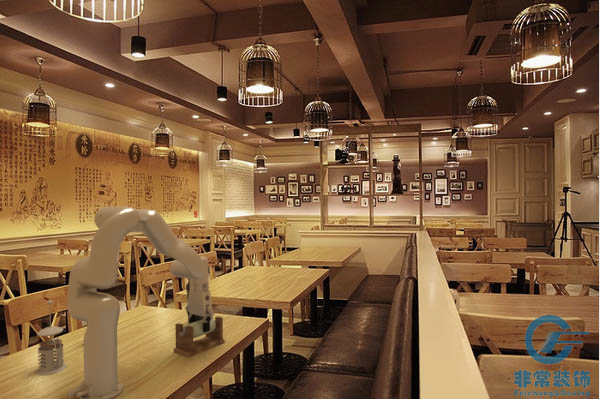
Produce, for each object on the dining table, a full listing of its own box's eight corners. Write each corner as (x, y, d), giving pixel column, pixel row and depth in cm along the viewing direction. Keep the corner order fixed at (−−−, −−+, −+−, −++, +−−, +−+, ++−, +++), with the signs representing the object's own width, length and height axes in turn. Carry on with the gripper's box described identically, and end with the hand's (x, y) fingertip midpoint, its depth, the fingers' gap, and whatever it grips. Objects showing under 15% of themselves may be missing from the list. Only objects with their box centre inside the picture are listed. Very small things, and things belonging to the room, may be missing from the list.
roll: (185, 344, 159) (185, 328, 159) (175, 340, 163) (175, 325, 163) (221, 330, 175) (221, 316, 174) (212, 327, 178) (212, 314, 178)
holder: (188, 357, 158) (188, 328, 158) (173, 352, 164) (173, 324, 164) (224, 342, 174) (224, 316, 174) (210, 338, 179) (209, 313, 179)
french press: (60, 361, 156) (59, 295, 155) (73, 369, 148) (72, 300, 148) (30, 370, 148) (29, 301, 148) (43, 379, 141) (41, 306, 140)
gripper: (220, 287, 166) (221, 331, 167) (192, 282, 177) (193, 323, 177) (206, 291, 160) (207, 336, 160) (178, 286, 171) (178, 328, 171)
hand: (199, 329), depth 169 cm, fingers open, 7 cm apart
